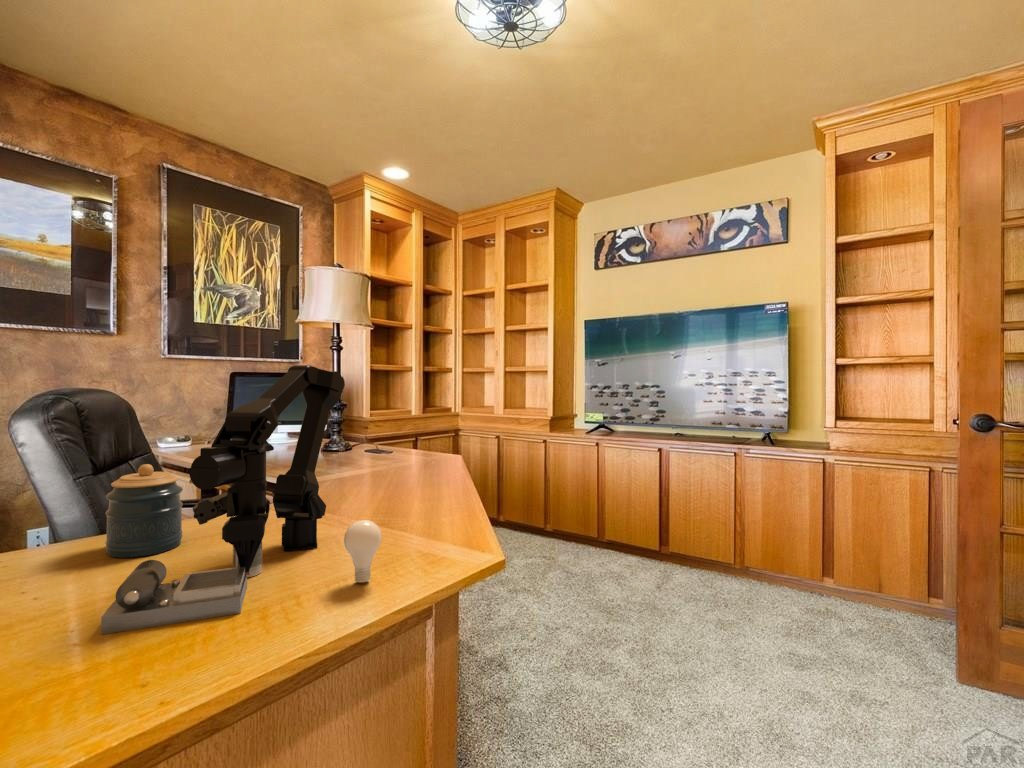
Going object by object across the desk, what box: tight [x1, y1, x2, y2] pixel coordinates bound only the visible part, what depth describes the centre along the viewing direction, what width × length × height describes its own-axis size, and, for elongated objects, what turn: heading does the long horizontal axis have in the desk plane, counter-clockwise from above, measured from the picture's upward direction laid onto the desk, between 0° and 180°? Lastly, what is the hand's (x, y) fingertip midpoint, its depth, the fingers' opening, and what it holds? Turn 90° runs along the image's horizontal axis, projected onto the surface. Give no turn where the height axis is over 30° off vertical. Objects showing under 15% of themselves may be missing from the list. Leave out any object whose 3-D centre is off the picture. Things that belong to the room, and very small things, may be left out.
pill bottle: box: [232, 540, 263, 579], centre depth 90 cm, size 5×5×8 cm
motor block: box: [100, 559, 248, 636], centre depth 76 cm, size 17×11×7 cm, turn 113°
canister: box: [104, 463, 184, 559], centre depth 103 cm, size 13×13×18 cm
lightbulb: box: [343, 519, 382, 584], centre depth 87 cm, size 6×6×11 cm
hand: (247, 563), depth 91 cm, fingers open, 9 cm apart
